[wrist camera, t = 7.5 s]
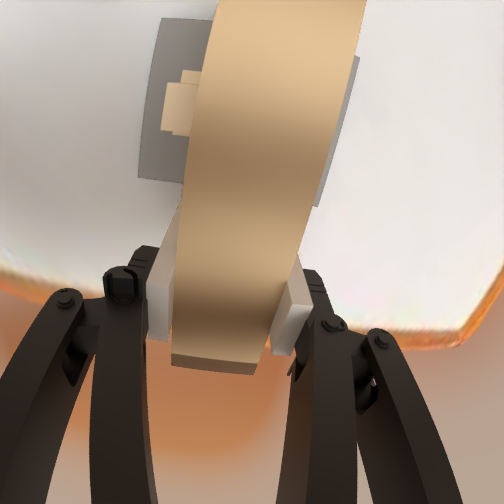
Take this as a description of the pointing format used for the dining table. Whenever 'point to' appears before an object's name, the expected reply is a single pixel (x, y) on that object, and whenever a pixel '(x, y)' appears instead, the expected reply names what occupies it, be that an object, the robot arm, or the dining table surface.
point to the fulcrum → (188, 101)
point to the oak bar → (255, 169)
